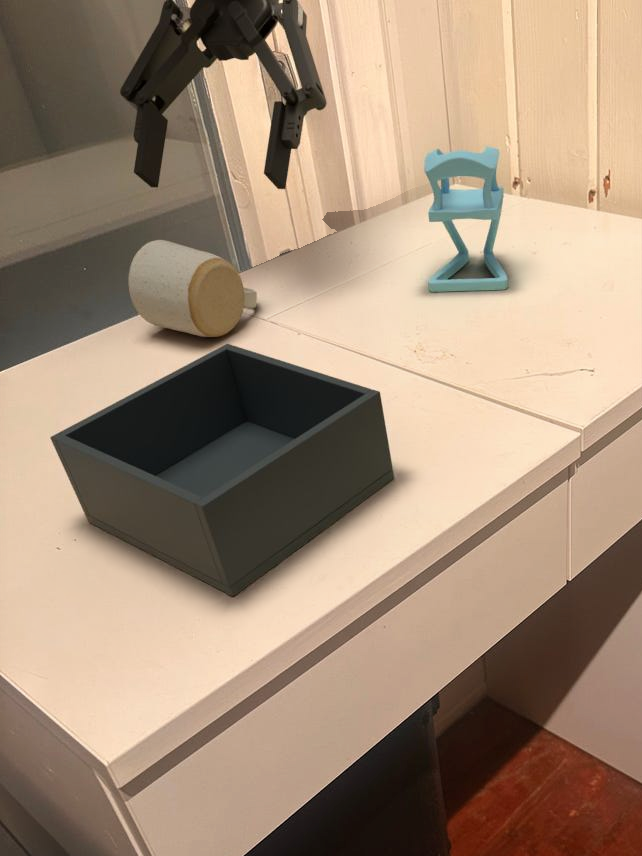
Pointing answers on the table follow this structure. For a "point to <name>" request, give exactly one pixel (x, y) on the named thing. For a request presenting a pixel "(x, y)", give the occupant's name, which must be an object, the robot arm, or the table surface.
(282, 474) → the tub
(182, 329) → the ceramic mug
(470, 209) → the chair
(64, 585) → the table surface
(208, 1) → the robot arm
